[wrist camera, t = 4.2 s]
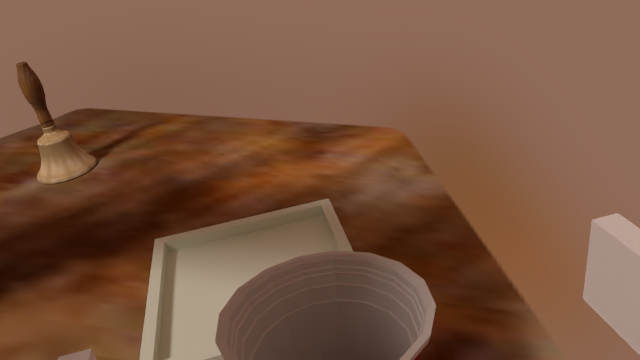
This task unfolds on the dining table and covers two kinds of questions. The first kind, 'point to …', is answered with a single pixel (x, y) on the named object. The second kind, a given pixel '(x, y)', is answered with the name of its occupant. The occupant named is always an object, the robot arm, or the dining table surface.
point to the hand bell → (52, 136)
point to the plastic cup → (328, 311)
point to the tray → (223, 273)
